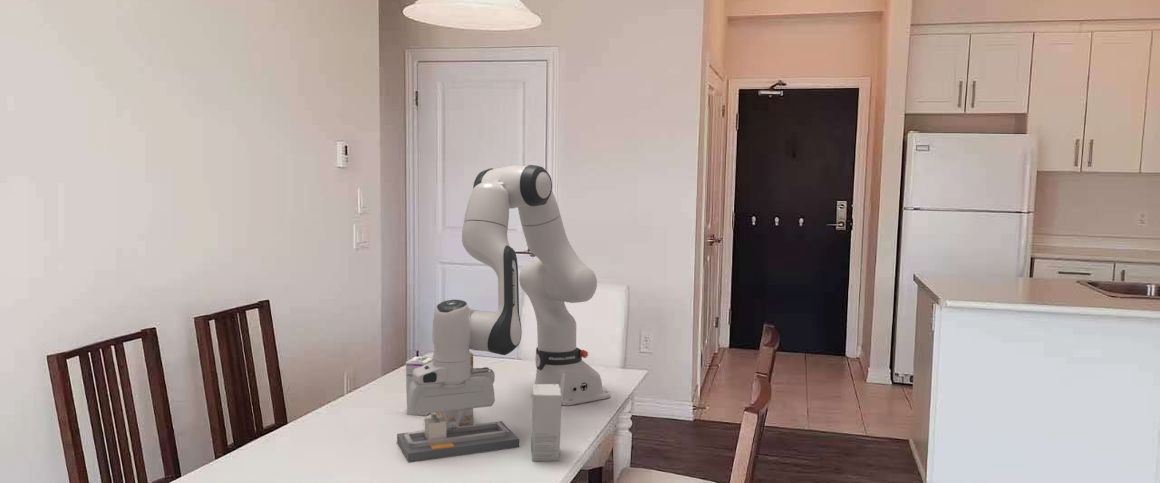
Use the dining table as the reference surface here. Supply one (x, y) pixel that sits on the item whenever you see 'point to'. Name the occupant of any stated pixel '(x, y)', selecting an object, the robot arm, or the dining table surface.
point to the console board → (458, 441)
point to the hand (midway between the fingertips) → (451, 428)
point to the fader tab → (435, 427)
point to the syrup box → (410, 367)
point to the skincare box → (546, 422)
